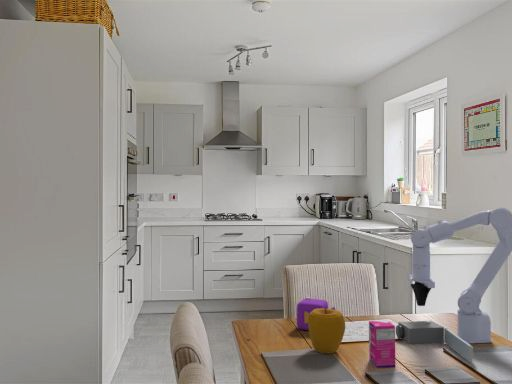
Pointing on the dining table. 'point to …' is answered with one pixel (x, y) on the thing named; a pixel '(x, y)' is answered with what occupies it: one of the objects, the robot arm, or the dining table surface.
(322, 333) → the apple
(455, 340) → the side door
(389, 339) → the supplement box
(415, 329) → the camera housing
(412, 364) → the dining table surface
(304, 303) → the toy camera
